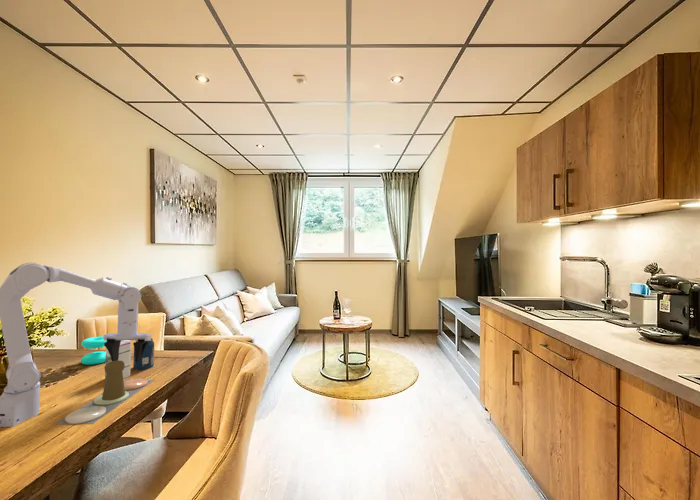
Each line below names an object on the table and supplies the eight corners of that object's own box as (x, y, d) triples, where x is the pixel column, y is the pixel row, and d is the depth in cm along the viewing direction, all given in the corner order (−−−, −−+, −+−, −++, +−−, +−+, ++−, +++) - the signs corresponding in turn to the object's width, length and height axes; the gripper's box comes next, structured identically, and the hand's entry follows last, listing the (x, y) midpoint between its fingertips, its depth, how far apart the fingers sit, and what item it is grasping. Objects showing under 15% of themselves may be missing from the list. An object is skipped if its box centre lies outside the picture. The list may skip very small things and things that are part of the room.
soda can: (132, 368, 130) (132, 339, 130) (151, 365, 134) (152, 336, 135) (134, 374, 125) (135, 343, 125) (155, 370, 129) (156, 340, 129)
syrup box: (131, 378, 120) (132, 339, 121) (115, 384, 115) (117, 343, 115) (119, 376, 122) (120, 338, 122) (103, 382, 116) (105, 342, 116)
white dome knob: (90, 423, 87) (90, 421, 87) (56, 424, 86) (56, 421, 86) (113, 407, 96) (113, 405, 96) (82, 408, 95) (82, 406, 95)
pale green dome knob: (116, 405, 97) (116, 403, 97) (86, 405, 97) (86, 403, 97) (135, 392, 106) (135, 390, 106) (107, 392, 106) (107, 390, 106)
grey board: (92, 427, 87) (92, 423, 87) (54, 427, 86) (54, 424, 86) (154, 382, 117) (154, 380, 117) (125, 382, 116) (125, 380, 116)
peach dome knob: (137, 390, 108) (137, 388, 108) (110, 390, 107) (110, 388, 107) (152, 380, 117) (152, 378, 117) (127, 380, 116) (127, 378, 116)
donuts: (116, 336, 141) (92, 342, 131) (116, 359, 140) (91, 367, 131) (100, 334, 143) (75, 340, 134) (99, 356, 143) (74, 364, 134)
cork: (114, 401, 99) (115, 365, 99) (96, 399, 99) (97, 364, 99) (130, 392, 105) (131, 359, 105) (113, 391, 105) (114, 358, 105)
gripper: (156, 319, 113) (155, 357, 113) (114, 318, 113) (112, 357, 112) (144, 323, 106) (143, 364, 106) (99, 323, 106) (97, 364, 105)
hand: (126, 361), depth 109 cm, fingers open, 7 cm apart
